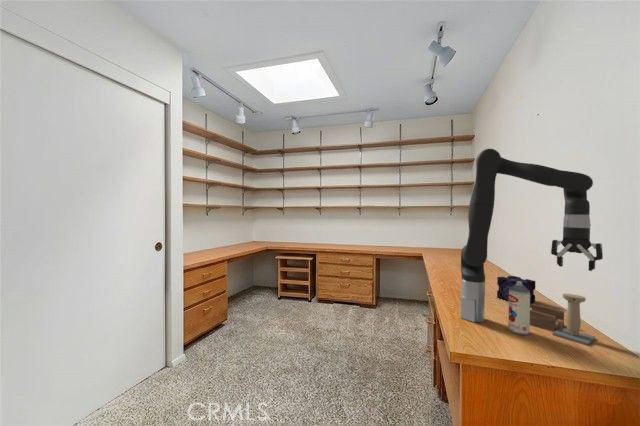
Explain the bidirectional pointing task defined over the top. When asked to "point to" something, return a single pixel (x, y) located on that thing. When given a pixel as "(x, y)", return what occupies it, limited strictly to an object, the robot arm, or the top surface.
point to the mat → (581, 338)
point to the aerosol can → (519, 309)
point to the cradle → (546, 317)
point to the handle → (573, 313)
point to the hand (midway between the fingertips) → (575, 268)
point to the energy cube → (509, 282)
